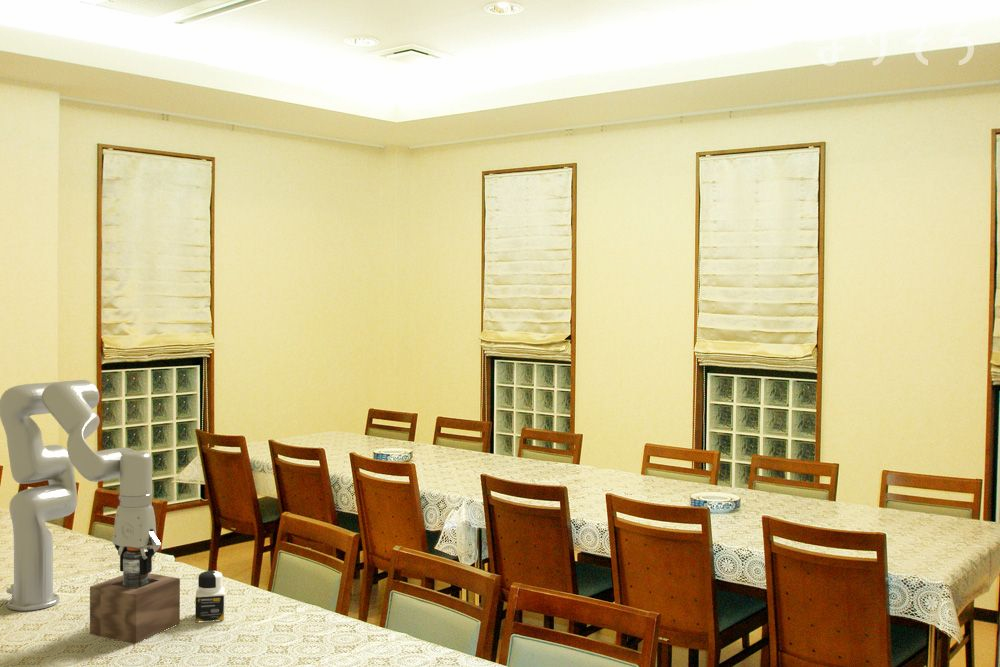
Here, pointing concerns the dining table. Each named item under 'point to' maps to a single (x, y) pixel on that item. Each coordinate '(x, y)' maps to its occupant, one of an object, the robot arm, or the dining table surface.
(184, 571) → the dining table surface
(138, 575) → the pill bottle
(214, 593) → the medicine bottle
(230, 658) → the dining table surface
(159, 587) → the wooden box holder
